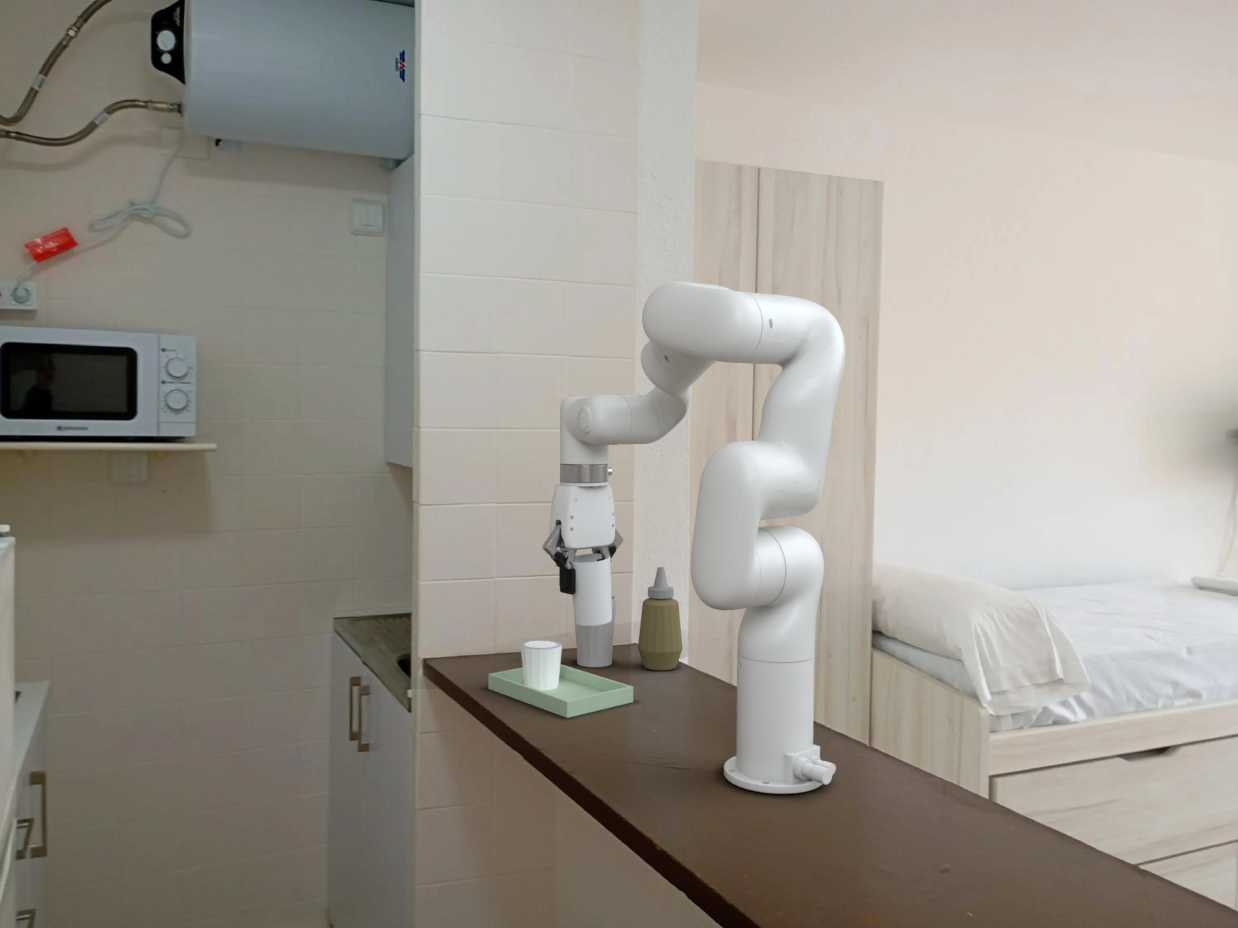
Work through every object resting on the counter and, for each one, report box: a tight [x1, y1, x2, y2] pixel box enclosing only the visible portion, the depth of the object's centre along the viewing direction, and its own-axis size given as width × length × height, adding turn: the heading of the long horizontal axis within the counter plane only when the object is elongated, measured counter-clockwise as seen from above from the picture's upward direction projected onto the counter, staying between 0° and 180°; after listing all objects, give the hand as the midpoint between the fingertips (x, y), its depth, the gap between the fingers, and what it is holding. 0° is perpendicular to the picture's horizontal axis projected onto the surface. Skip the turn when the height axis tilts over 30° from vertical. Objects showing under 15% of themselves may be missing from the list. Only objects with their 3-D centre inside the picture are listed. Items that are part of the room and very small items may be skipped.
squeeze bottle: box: [637, 566, 683, 671], centre depth 184 cm, size 8×8×18 cm
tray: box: [487, 663, 634, 719], centre depth 166 cm, size 21×13×2 cm, turn 41°
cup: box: [573, 594, 618, 668], centre depth 188 cm, size 8×8×12 cm
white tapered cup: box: [520, 639, 563, 691], centre depth 170 cm, size 7×7×7 cm
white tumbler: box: [571, 553, 612, 626], centre depth 161 cm, size 7×7×10 cm
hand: (583, 589), depth 161 cm, fingers closed on white tumbler, 5 cm apart
